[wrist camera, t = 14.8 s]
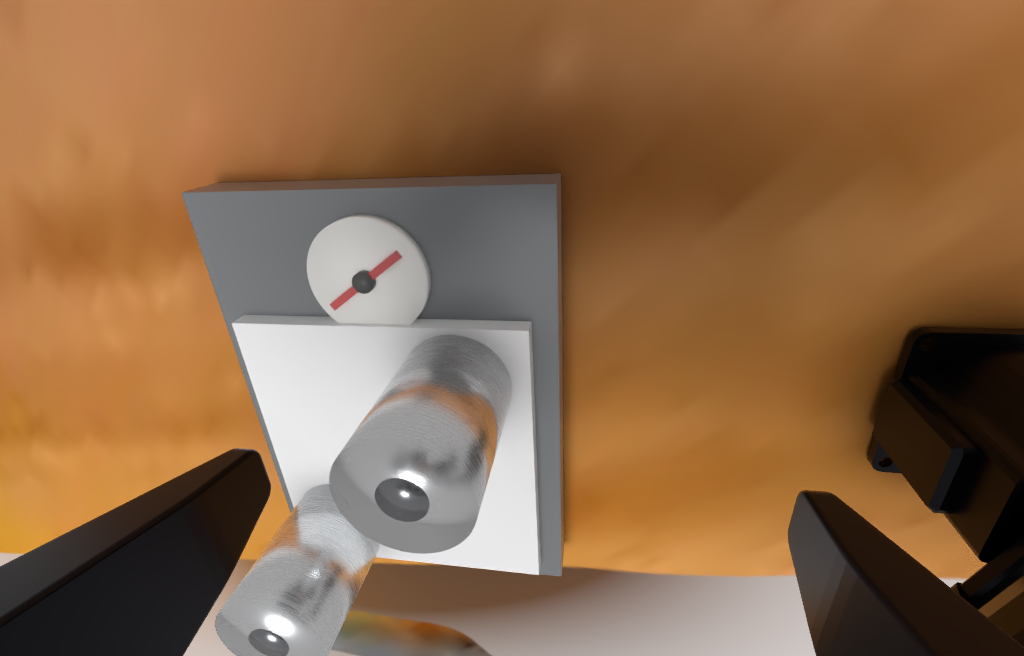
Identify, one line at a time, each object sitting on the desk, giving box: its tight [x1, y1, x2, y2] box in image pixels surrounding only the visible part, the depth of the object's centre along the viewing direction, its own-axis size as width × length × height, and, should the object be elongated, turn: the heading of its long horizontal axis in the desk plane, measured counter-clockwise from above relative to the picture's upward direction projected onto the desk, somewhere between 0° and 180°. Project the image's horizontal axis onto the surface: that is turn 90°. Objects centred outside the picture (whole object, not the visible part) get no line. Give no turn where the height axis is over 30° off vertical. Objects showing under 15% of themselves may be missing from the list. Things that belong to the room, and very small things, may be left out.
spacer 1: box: [215, 484, 381, 656], centre depth 21 cm, size 4×4×6 cm
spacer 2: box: [329, 335, 512, 554], centre depth 17 cm, size 4×4×6 cm
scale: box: [182, 173, 564, 576], centre depth 22 cm, size 14×19×3 cm
